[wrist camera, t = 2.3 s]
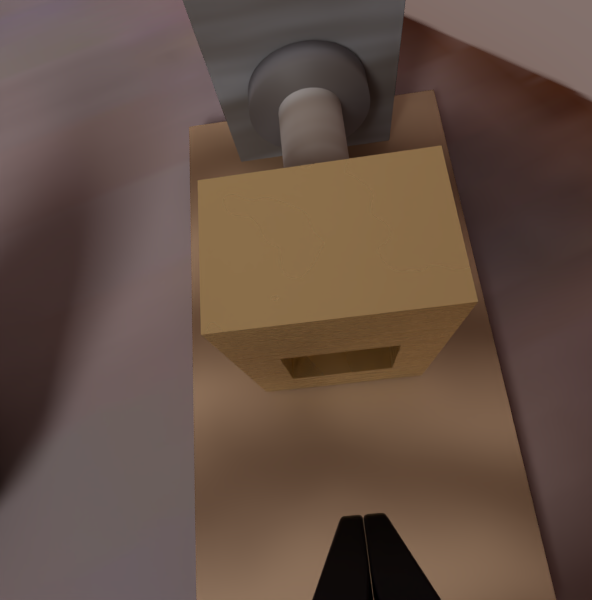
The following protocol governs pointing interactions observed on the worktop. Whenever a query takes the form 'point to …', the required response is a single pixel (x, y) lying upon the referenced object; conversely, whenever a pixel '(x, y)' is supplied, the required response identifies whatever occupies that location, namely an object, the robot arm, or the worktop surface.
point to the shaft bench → (353, 396)
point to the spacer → (333, 269)
